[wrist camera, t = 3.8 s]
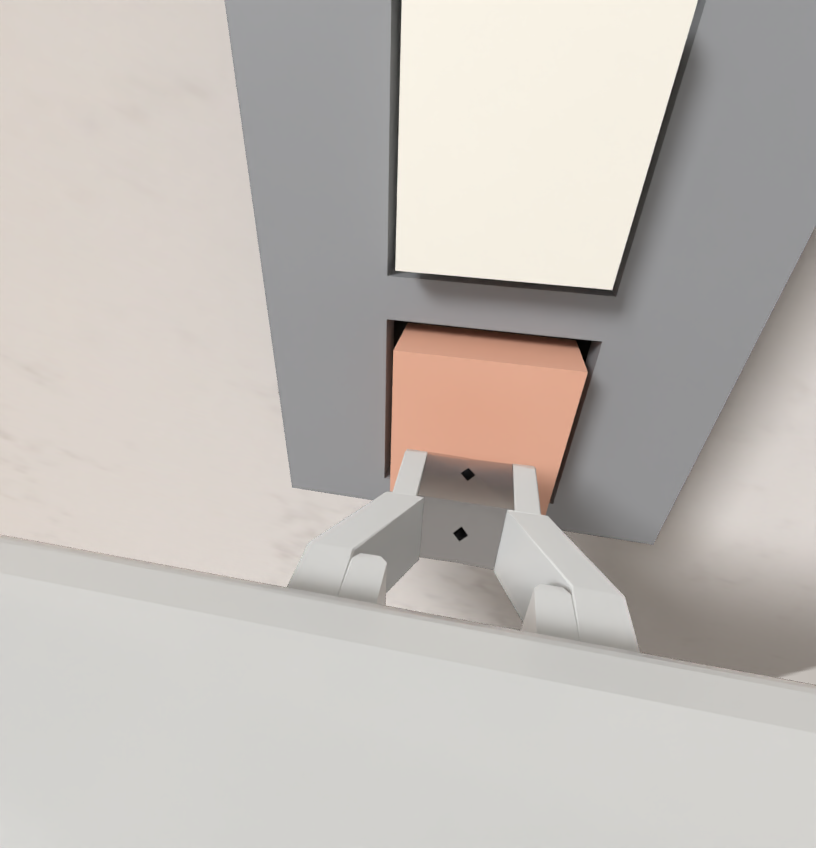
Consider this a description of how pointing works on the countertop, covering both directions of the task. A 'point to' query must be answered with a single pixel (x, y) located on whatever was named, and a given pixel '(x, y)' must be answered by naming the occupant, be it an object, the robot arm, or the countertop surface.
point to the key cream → (529, 133)
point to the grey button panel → (522, 301)
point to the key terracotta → (485, 397)
